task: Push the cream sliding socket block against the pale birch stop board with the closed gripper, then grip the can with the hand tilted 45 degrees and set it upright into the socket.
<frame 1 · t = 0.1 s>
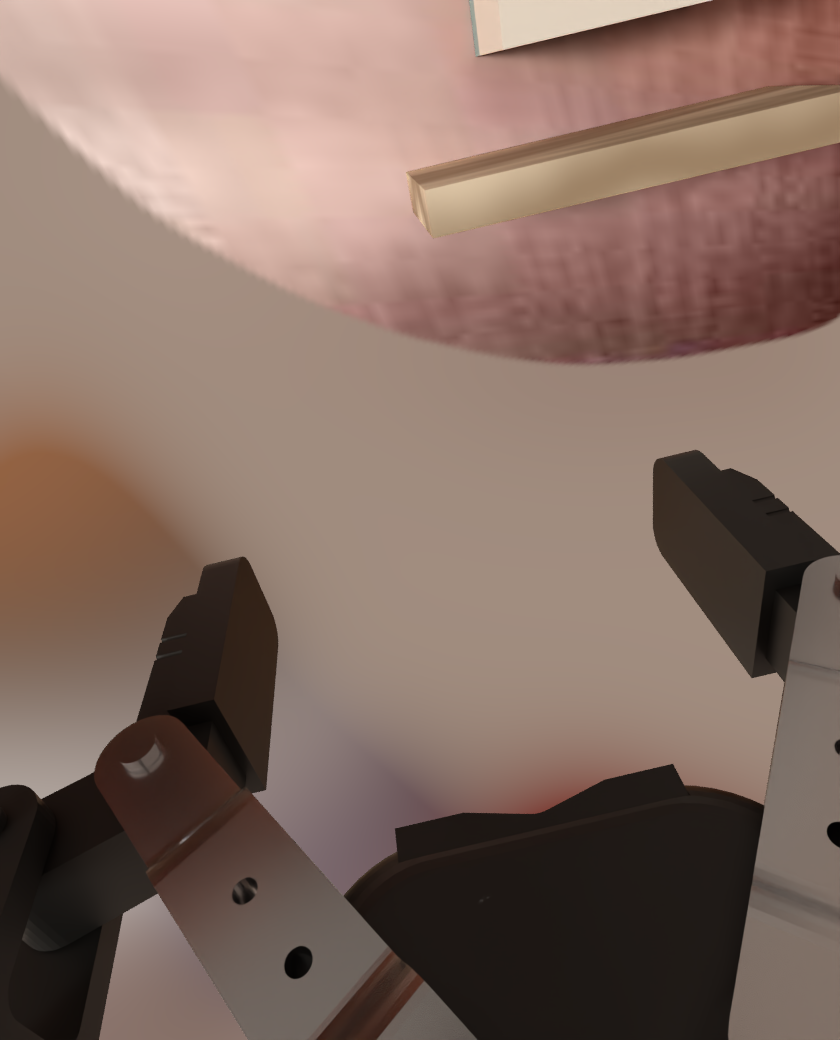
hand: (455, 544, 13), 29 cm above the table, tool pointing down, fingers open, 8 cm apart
stop board: (587, 150, 36), on the table
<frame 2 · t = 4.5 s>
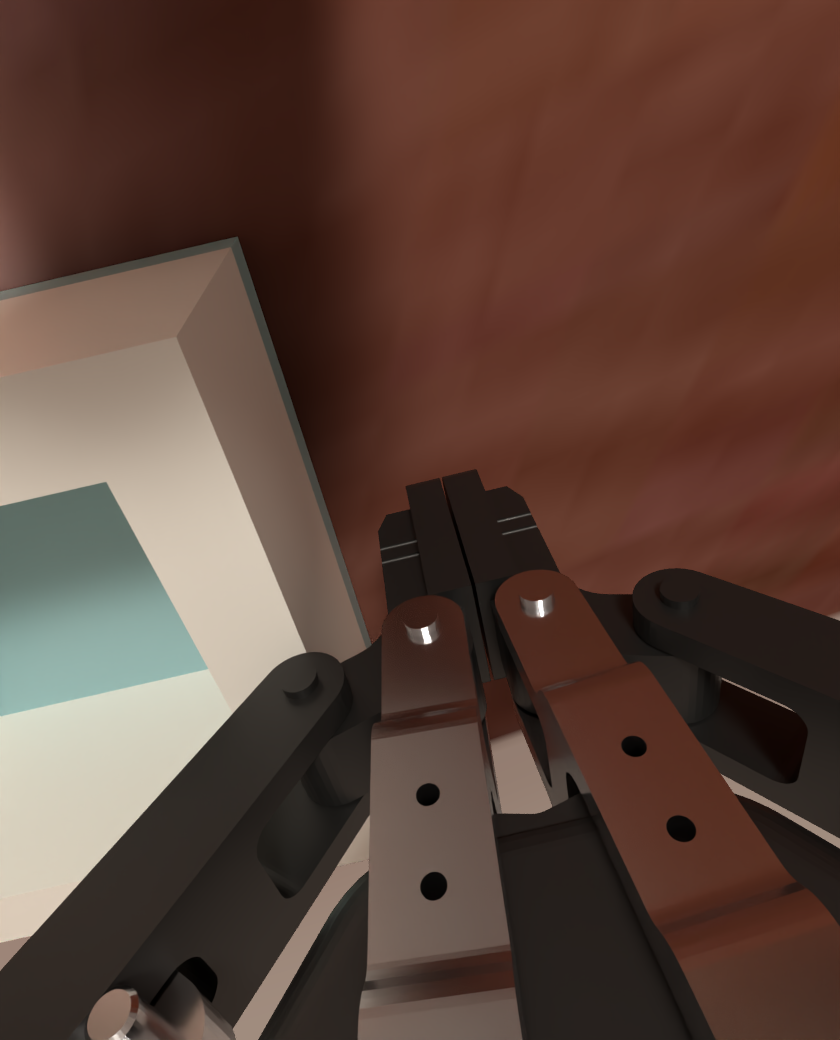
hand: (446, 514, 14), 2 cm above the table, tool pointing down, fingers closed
socket block: (44, 622, 13), point 3 cm above the table, slide at 3.2 cm, touching gripper
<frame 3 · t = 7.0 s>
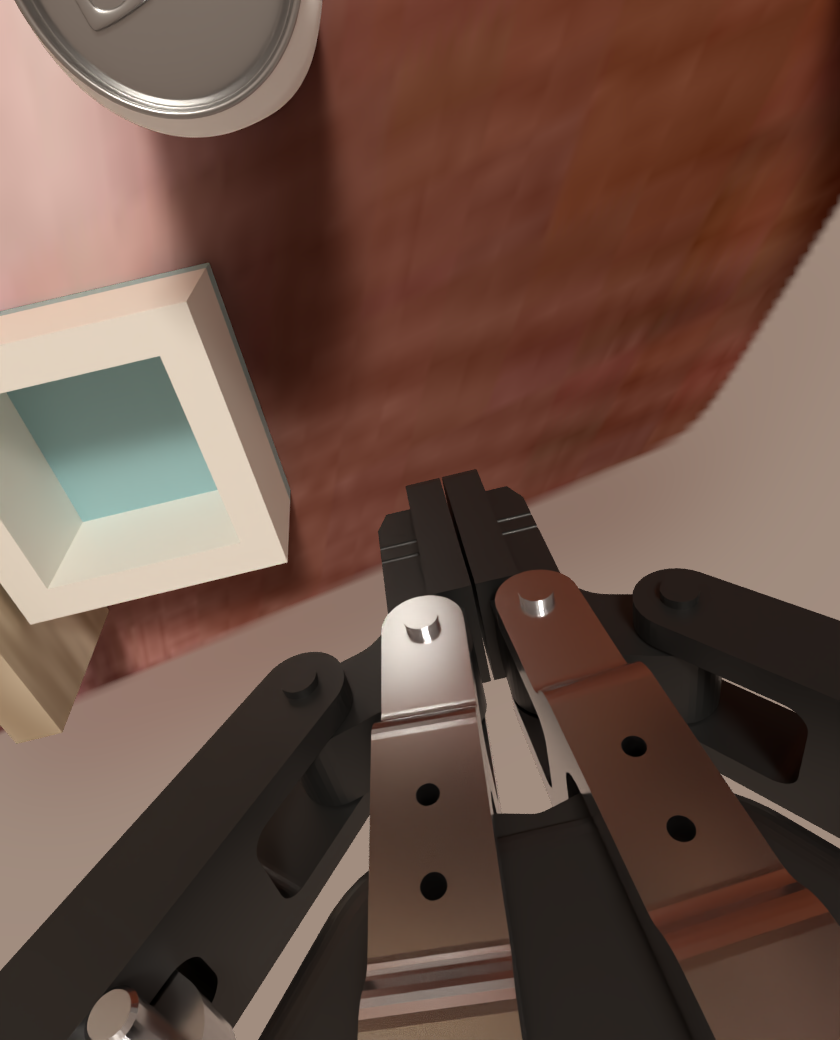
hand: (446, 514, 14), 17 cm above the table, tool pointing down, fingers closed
socket block: (118, 446, 27), point 3 cm above the table, slide at 0.0 cm
can: (221, 12, 22), on the table
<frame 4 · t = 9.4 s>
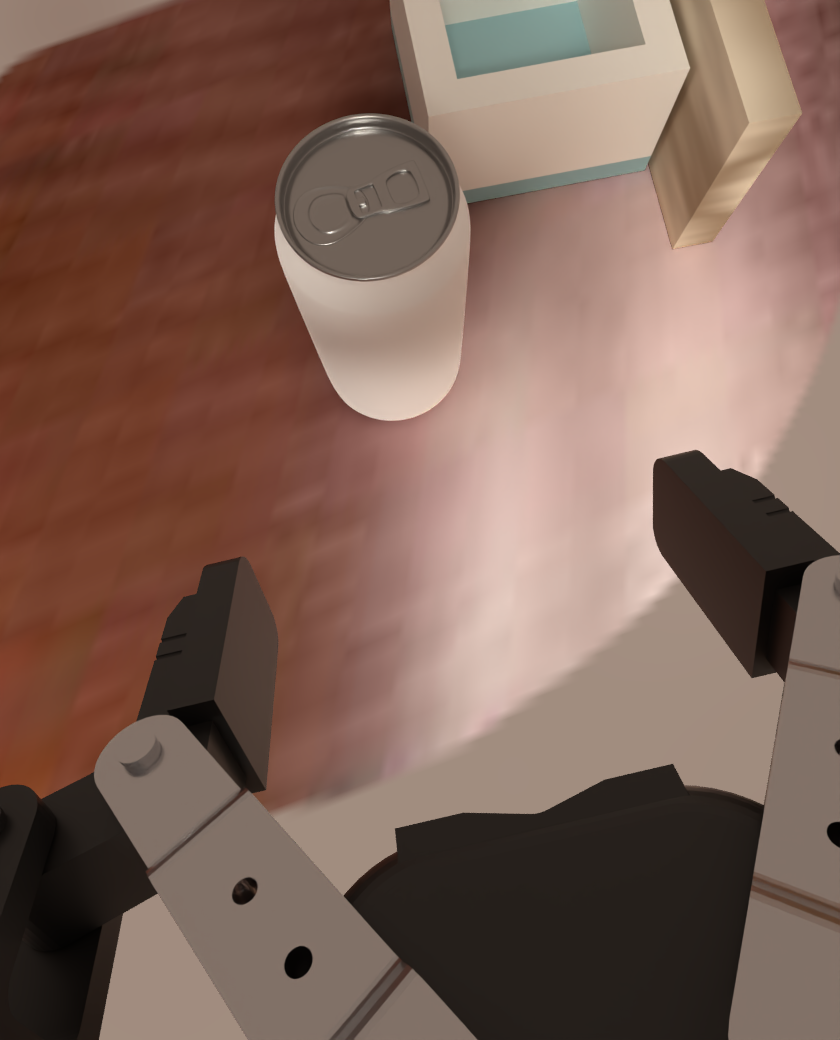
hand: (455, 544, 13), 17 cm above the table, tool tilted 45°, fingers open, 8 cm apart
socket block: (521, 45, 31), point 3 cm above the table, slide at 0.0 cm
can: (393, 361, 32), on the table
stop board: (642, 73, 34), on the table
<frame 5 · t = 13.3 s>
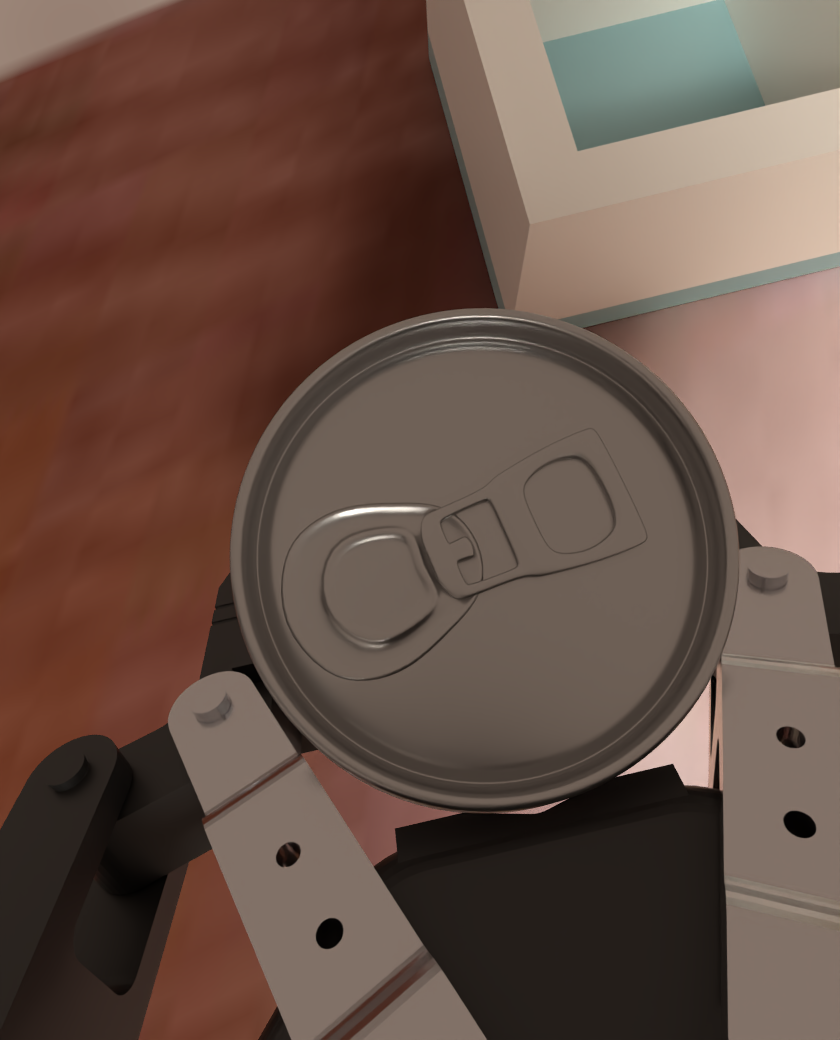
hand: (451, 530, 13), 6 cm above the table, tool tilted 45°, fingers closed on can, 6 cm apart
socket block: (657, 76, 18), point 3 cm above the table, slide at 0.0 cm
can: (464, 604, 19), on the table, touching gripper
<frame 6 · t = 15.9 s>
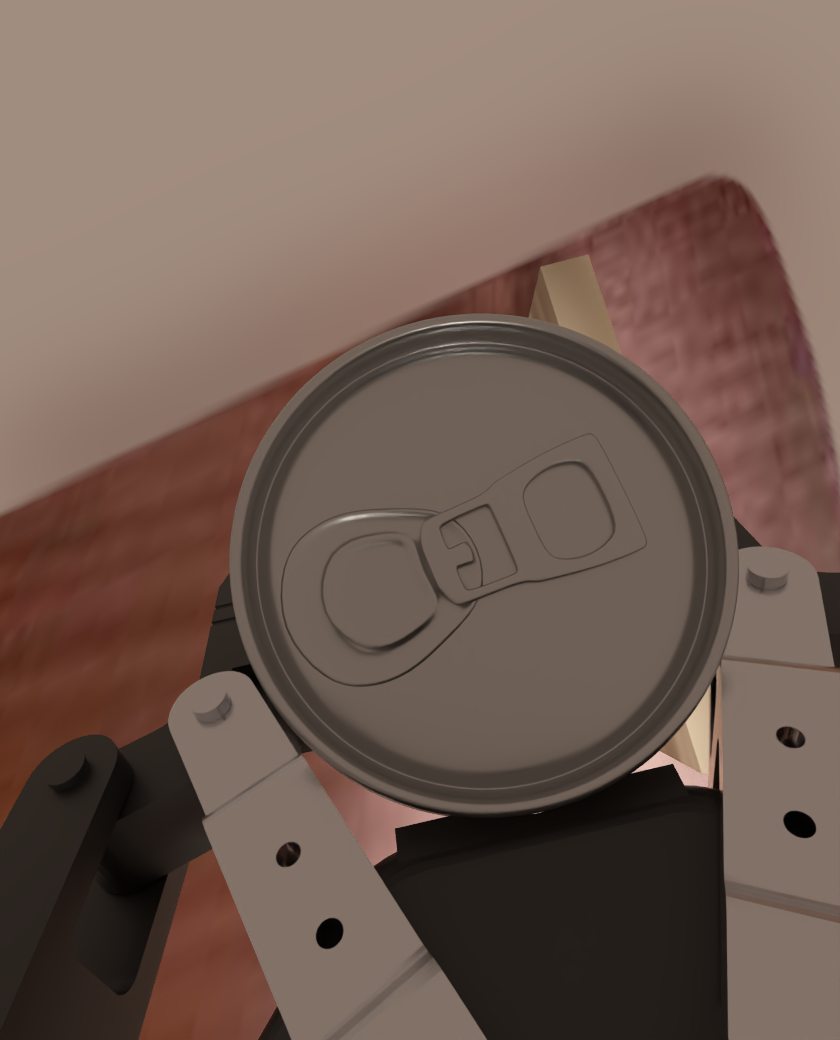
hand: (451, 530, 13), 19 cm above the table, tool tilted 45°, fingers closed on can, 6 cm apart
can: (465, 607, 19), point 13 cm above the table, touching gripper
stop board: (595, 529, 32), on the table
when the fingers open (9 cm above the table, at t = 18.7 s): can drops 1 cm, resting on socket block.
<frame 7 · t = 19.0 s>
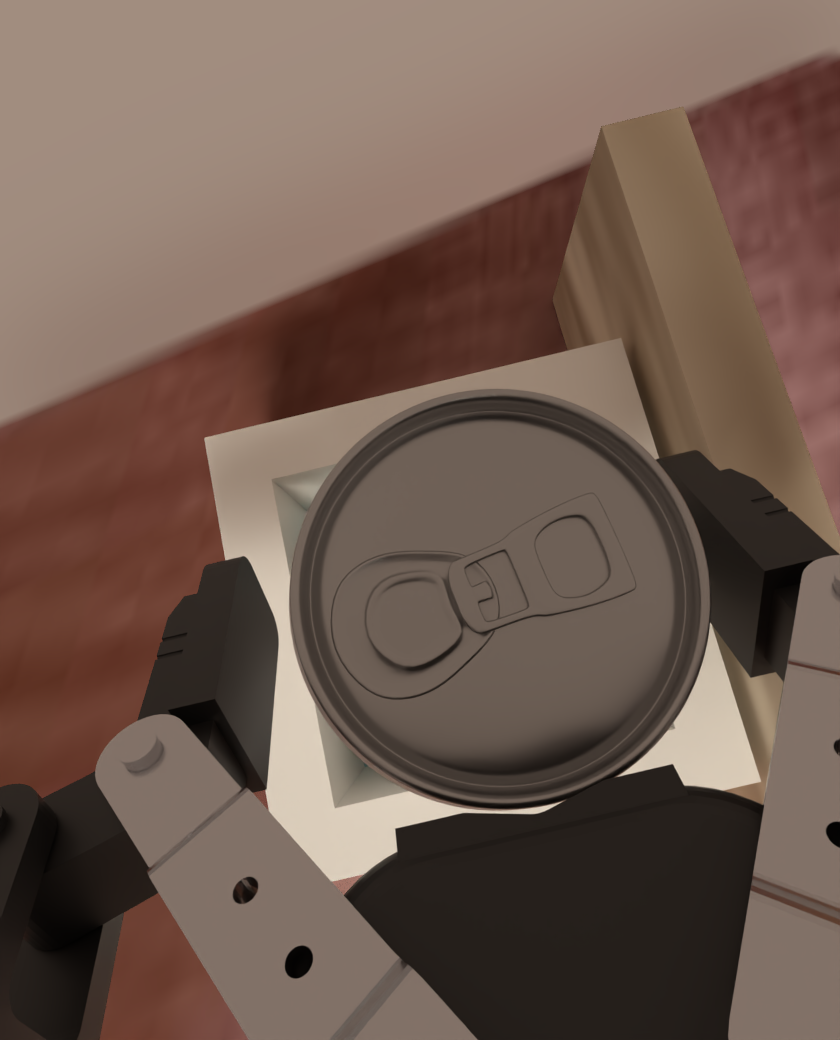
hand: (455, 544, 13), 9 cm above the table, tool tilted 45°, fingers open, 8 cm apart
socket block: (461, 604, 19), point 3 cm above the table, slide at 0.0 cm, touching can
can: (469, 616, 21), point 1 cm above the table, touching socket block
stop board: (661, 562, 21), on the table
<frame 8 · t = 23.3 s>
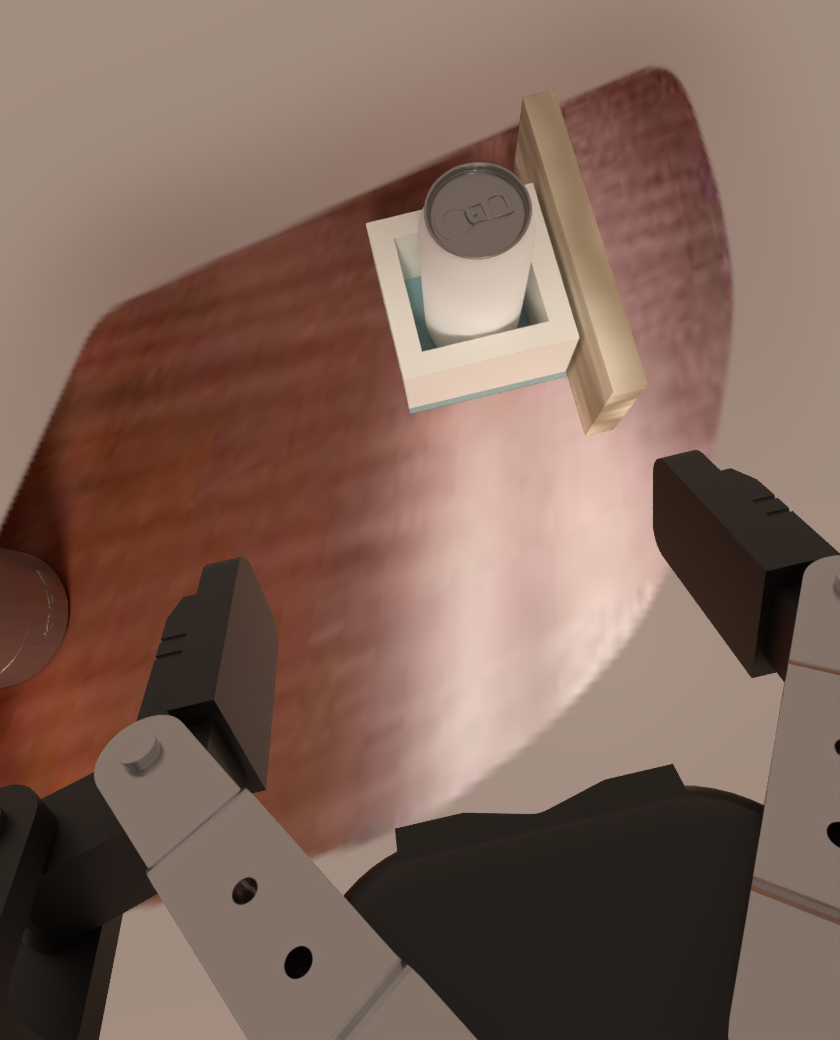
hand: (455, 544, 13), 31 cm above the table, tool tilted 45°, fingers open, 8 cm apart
socket block: (468, 303, 44), point 3 cm above the table, slide at 0.0 cm, touching can
can: (471, 322, 46), point 1 cm above the table, touching socket block
stop board: (560, 302, 46), on the table
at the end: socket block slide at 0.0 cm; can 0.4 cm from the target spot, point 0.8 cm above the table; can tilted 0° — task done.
